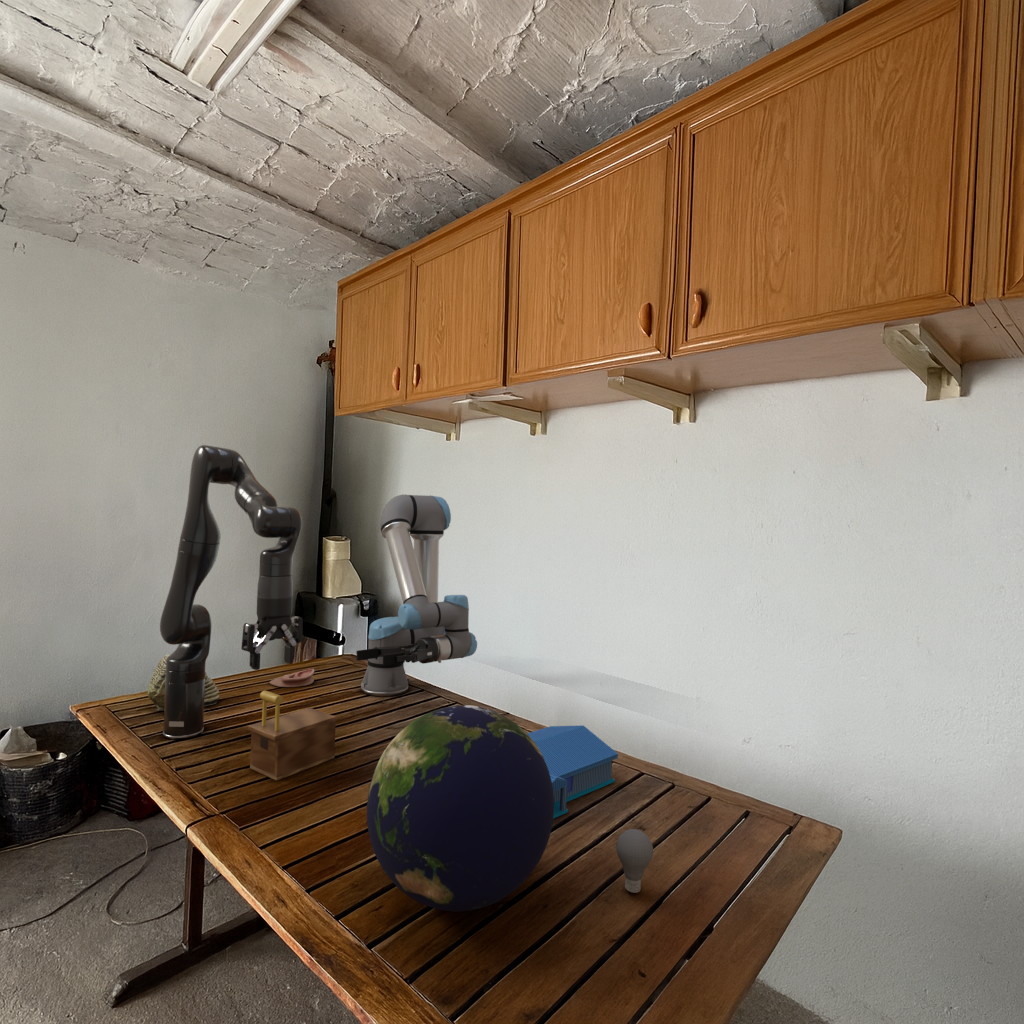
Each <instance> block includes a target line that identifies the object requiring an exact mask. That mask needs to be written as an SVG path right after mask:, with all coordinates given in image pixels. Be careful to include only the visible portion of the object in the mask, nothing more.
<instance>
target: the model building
mask: <svg viewBox="0 0 1024 1024" xmlns="http://www.w3.org/2000/svg"><path fill="white" fill-rule="evenodd" d="M526 733H527V734H528V735H529V736H530V737H531V739H532V740H533V741H534V742H535V744H536V745H537V747H538V748H539V750H540V752H541V753H542V755H543V757H544V760H545V763H546V765H547V767H548V770H549V774H550V777H551V782H552V786H553V794H554V816H553V820H554V819H556V818H558V817H560V816H563V815H565V814H567V813H569V809H568V808H567V803H569V802H571V801H573V800H575V799H577V798H580V797H582V796H586V795H587V794H589V793H590V794H591V793H592V792H594V791H597V790H599V789H601V788H604V787H606V786H608V785H611V784H614V783H616V779H615V778H613V777H612V775H613V761H615V760H617V759H619V753H618V752H617V751H616V750H615V749H613V748H612V747H611V746H609V745H608V744H607V743H606V742H604V741H603V740H602V738H600V737H599V736H597V735H596V734H594V733H593V732H592V731H591V730H590V729H588V728H587V727H586V726H585V725H553V726H552V725H551V726H546V727H544V728H540V729H537V730H534V731H531V732H530V731H529V732H526Z"/></svg>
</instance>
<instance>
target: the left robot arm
mask: <svg viewBox="0 0 1024 1024" xmlns="http://www.w3.org/2000/svg"><path fill="white" fill-rule="evenodd" d="M188 483H189V484H188V495H187V503H186V509H185V513H184V519H183V525H182V528H181V533H180V537H179V542H178V546H177V547H178V548H177V552H176V553H177V554H176V559H175V565H174V569H173V573H172V577H171V578H172V579H171V583H170V587H169V591H168V594H167V596H166V600H165V604H164V606H163V610H162V613H161V616H160V621H159V632H160V636H161V638H162V641H164V642H165V643H166V644H168V645H173V646H174V645H175V646H176V645H178V646H176V648H175V650H174V651H173V652H172V653H170V654H169V655H170V656H169V657H168V658H167V660H166V674H165V705H164V710H163V731H162V737H164V738H166V739H169V740H185V739H190V738H191V739H192V738H194V737H197V736H199V735H202V734H203V732H204V730H205V729H204V722H205V721H204V718H205V706H204V693H205V672H206V664H207V663H206V662H207V659H208V657H209V654H210V649H211V648H210V647H211V639H212V617H211V614H210V612H209V610H208V609H207V608H206V607H205V606H204V605H201V604H196V603H195V604H194V602H195V599H196V595H197V593H198V591H199V588H200V587H201V585H202V583H203V582H204V581H205V579H206V578H207V577H208V575H209V574H210V572H211V570H212V569H213V567H214V566H215V563H216V561H217V559H218V555H219V549H220V544H221V538H222V535H221V529H220V527H219V525H218V522H217V520H216V517H215V516H214V513H213V511H212V509H211V506H210V501H209V490H210V484H219V485H230V486H232V487H234V493H233V494H234V495H233V496H234V499H235V502H236V504H237V505H238V506H239V508H240V509H241V510H243V512H244V513H245V515H247V516H248V518H249V521H250V524H251V527H252V530H253V532H254V533H255V534H256V535H257V536H259V537H260V538H264V539H278V541H277V543H276V544H275V545H274V546H271V547H267V548H265V549H262V550H261V551H260V554H259V568H258V569H259V570H258V579H257V591H256V616H257V617H256V618H257V620H256V623H248V622H245V623H243V625H242V626H243V627H242V636H241V637H242V638H241V646H240V647H241V649H240V650H242V651H244V652H248V653H249V667H250V668H251V670H253V671H258V670H260V669H261V651H262V649H263V647H264V646H266V645H267V644H268V642H269V641H270V642H272V641H275V640H282V641H283V642H284V644H285V645H284V652H283V653H284V655H283V656H284V657H283V659H284V661H283V662H285V663H288V664H291V663H293V662H294V660H295V649H296V648H295V647H296V646H297V644H299V643H302V642H303V640H304V627H303V624H304V623H303V620H304V619H303V617H301V616H296V615H293V616H292V617H291V615H292V614H293V595H294V594H293V592H294V582H293V560H294V559H293V558H294V555H295V551H296V548H297V545H298V541H299V538H300V536H301V532H302V529H303V518H302V515H301V513H300V511H299V510H298V509H297V508H295V507H292V506H278V501H277V500H276V498H275V497H274V495H272V494H271V493H270V491H268V490H267V489H266V488H265V487H264V486H263V485H262V484H261V483H260V482H259V481H258V480H257V478H256V476H255V475H254V473H253V471H252V470H251V468H250V467H249V465H248V464H247V462H246V460H245V459H244V458H243V456H242V455H241V454H240V452H238V451H236V450H234V449H230V448H226V447H220V446H213V445H207V444H202V445H199V446H198V447H197V448H196V449H195V451H194V454H193V456H192V461H191V466H190V474H189V482H188ZM290 627H291V631H290V629H289V628H290ZM255 633H256V634H255Z"/></svg>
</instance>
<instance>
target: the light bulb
mask: <svg viewBox="0 0 1024 1024" xmlns="http://www.w3.org/2000/svg"><path fill="white" fill-rule="evenodd" d="M615 849H616V854H617V857H618V859H619V861H620V863H621V865H622V867H623V873H624V874H623V875H624V876H625V878H624V888H625V890H627V891H628V892H630V893H634V894H635V893H639V892H640V891H641V889H642V887H641V886H642V879H643V877H644V875H645V871H646V868H647V867H648V866H649V864H650V863H651V861H652V859H653V855H654V847H653V843H652V841H651V838H649V836H648V835H647V834H646V833H645V832H643V831H642V830H641V829H636V828H629V829H627V830H625V831H623V832H622V833H621V834H620V835H619V837H618V839H617V841H616V847H615Z"/></svg>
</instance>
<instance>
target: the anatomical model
mask: <svg viewBox="0 0 1024 1024" xmlns="http://www.w3.org/2000/svg"><path fill="white" fill-rule="evenodd" d="M314 674H315V668H308V669H304V670H300V671H296V672H292V673H289V674H285V675H282V676H279V677H277V678H274V679H272V680H269V684H270V685H272V686H275V687H279V688H295V687H296V688H297V687H303V686H309V685H311V684H313V683H314V682H315V678H313V676H314Z"/></svg>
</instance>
